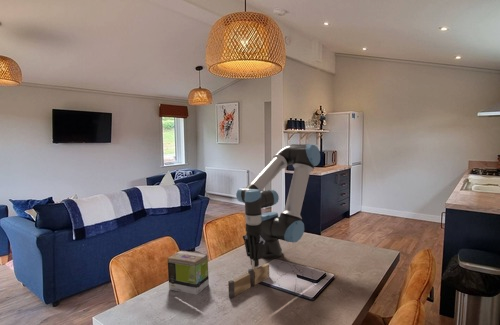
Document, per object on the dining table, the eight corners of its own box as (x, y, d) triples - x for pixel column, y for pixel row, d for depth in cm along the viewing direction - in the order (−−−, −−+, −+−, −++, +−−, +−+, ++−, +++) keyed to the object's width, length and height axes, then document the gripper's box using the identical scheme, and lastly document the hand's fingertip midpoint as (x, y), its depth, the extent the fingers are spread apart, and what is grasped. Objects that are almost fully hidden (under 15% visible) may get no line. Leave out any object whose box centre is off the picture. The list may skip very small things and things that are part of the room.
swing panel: (251, 287, 134) (251, 271, 133) (247, 285, 135) (247, 270, 135) (269, 276, 143) (269, 262, 142) (265, 275, 144) (265, 261, 144)
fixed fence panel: (227, 298, 126) (227, 282, 126) (247, 287, 135) (246, 272, 134) (231, 300, 125) (231, 283, 124) (251, 289, 133) (250, 273, 133)
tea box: (209, 285, 138) (208, 253, 136) (196, 296, 129) (195, 262, 127) (182, 280, 144) (180, 249, 143) (168, 290, 135) (166, 257, 134)
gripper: (237, 222, 144) (239, 271, 146) (258, 227, 135) (260, 279, 137) (249, 219, 149) (250, 266, 151) (269, 223, 140) (270, 273, 142)
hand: (254, 272), depth 144 cm, fingers closed
